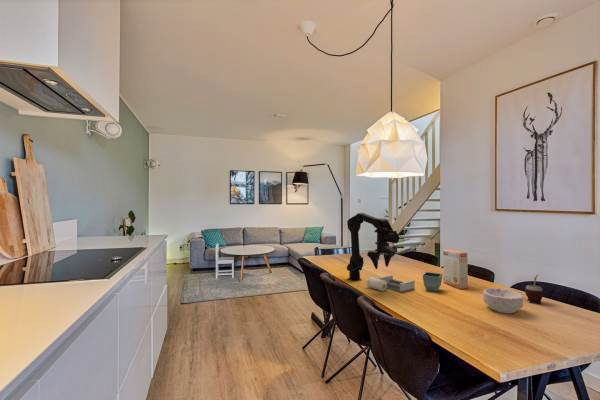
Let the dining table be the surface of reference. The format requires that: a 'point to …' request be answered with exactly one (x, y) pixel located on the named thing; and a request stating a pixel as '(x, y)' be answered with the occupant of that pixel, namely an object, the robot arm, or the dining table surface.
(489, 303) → the grey stone bowl
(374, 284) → the paper roll
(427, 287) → the flower pot
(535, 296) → the mate gourd
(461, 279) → the cracker box
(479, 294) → the dining table surface
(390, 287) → the cradle
